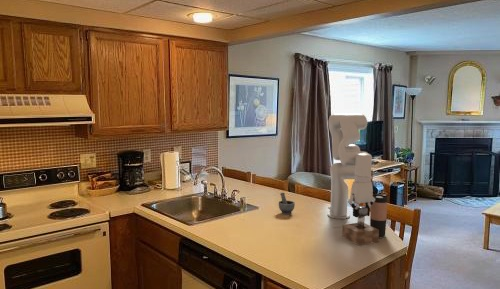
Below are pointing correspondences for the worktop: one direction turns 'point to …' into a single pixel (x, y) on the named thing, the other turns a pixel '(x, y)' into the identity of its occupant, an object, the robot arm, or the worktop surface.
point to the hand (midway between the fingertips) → (361, 215)
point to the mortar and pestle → (286, 205)
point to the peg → (362, 215)
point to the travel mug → (379, 214)
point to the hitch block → (360, 233)
